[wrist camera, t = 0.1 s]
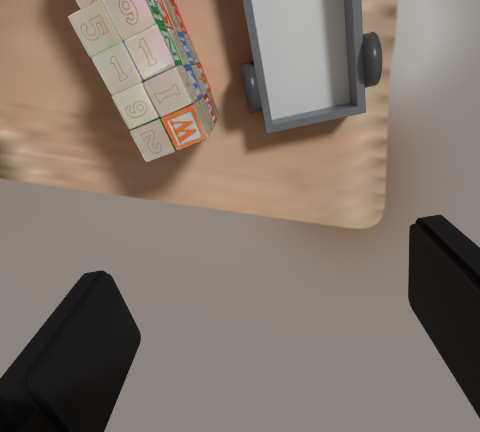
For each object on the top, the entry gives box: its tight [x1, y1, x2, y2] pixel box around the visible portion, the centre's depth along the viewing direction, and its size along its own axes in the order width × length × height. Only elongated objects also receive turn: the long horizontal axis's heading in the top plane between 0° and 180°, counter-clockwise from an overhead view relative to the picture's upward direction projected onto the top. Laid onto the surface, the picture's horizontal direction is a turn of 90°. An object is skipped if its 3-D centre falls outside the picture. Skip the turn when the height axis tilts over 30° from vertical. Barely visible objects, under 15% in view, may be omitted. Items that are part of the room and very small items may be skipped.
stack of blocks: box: [68, 0, 220, 162], centre depth 29 cm, size 21×6×12 cm, turn 21°
